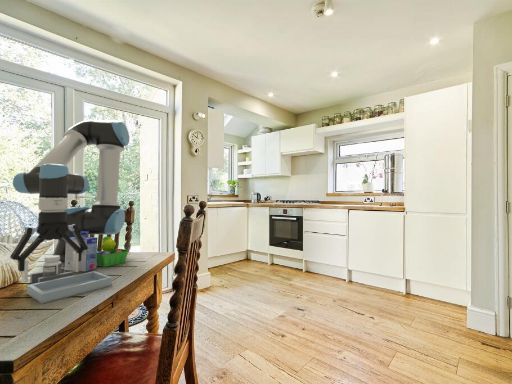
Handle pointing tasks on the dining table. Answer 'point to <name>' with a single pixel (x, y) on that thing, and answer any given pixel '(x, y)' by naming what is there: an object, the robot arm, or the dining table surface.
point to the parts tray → (68, 286)
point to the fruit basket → (110, 253)
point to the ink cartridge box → (87, 255)
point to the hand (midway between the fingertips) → (51, 276)
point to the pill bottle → (51, 265)
